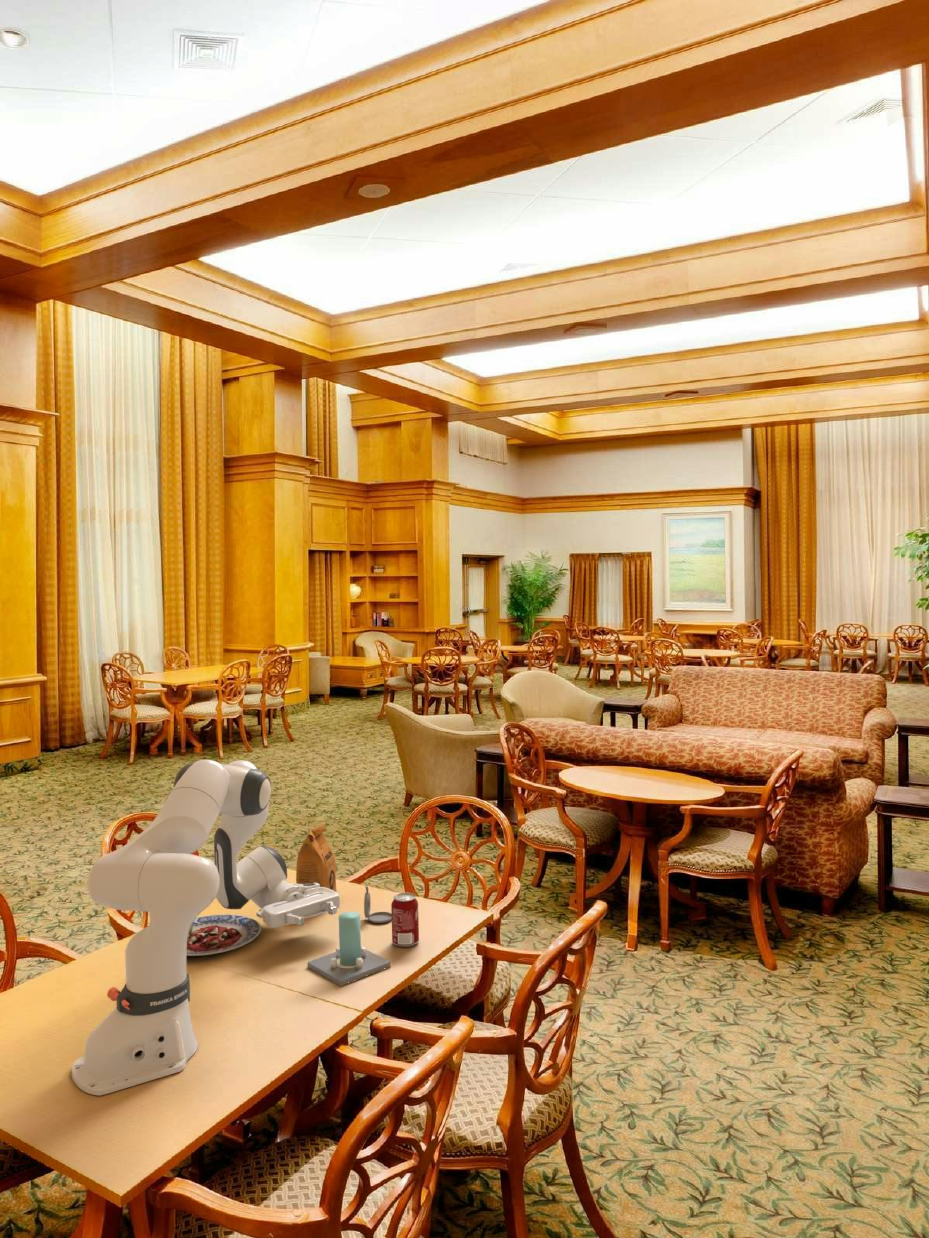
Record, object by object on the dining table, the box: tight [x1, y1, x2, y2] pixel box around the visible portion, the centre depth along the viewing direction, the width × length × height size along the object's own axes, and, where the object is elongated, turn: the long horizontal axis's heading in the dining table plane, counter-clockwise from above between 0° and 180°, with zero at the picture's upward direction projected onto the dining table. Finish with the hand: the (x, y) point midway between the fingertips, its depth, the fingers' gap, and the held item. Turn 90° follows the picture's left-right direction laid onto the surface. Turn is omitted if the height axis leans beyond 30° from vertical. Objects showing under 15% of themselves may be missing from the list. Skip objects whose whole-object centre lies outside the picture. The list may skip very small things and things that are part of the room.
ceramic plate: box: [187, 914, 262, 957], centre depth 216 cm, size 26×26×3 cm
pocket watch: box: [363, 883, 392, 924], centre depth 228 cm, size 8×8×10 cm
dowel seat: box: [307, 946, 391, 987], centre depth 199 cm, size 14×14×3 cm
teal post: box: [338, 911, 362, 966], centre depth 199 cm, size 5×5×11 cm
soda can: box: [391, 892, 420, 948], centre depth 212 cm, size 7×7×12 cm
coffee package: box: [295, 824, 338, 893], centre depth 240 cm, size 10×12×22 cm
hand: (318, 916), depth 207 cm, fingers open, 8 cm apart
